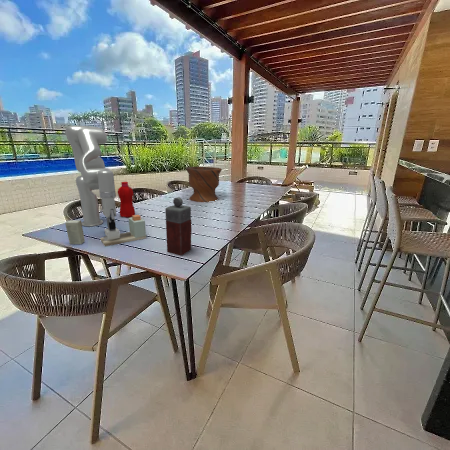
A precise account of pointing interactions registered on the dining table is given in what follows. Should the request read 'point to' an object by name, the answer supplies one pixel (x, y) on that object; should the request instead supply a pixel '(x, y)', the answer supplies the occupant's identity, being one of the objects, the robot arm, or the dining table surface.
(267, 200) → the dining table surface
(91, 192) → the robot arm
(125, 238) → the track
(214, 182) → the wooden planter
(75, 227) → the skincare box
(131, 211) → the water bottle
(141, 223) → the end cabinet
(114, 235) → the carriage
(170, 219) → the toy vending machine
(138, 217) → the button
